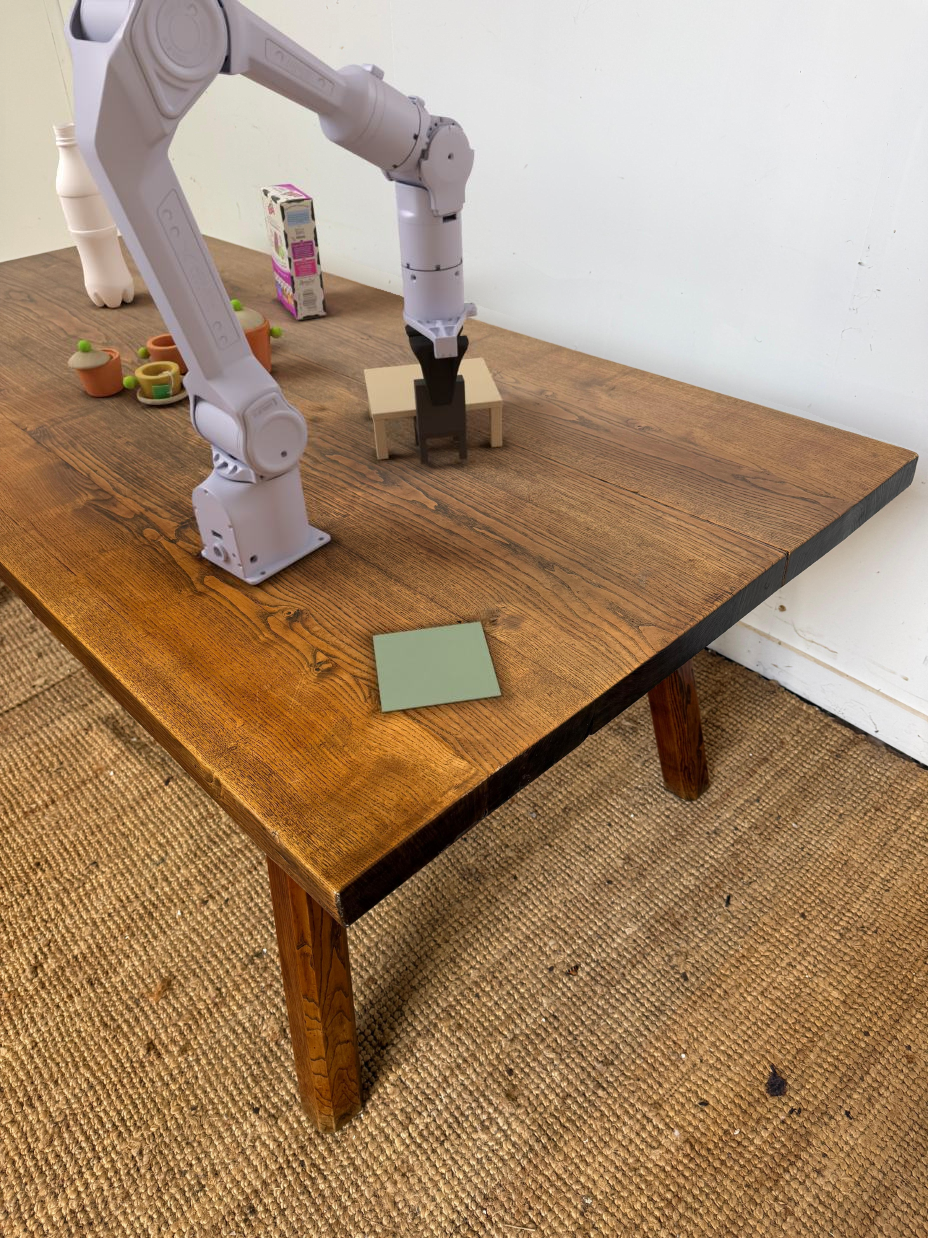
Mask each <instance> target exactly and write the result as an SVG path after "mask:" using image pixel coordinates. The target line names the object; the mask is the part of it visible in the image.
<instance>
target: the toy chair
mask: <svg viewBox="0 0 928 1238" xmlns="http://www.w3.org/2000/svg"><path fill="white" fill-rule="evenodd" d="M414 393H415V406H416V416H412V417H413V429H414V441H415V446H416V447H418V451H419V462H420V465H426V464H429V454H428V440H432V439H433V440H434V439H442V438H452V440H453V442H454V443H457V444H458V445H457V447H458V458H459V460H468V447H467V428H468V427H467V411H466V402H465V381H464V378H463V376H462V375H457V380H456V386H455V392H454V397H453V401H452V404H451V405H442V406H432V405H431V402H430V399H429V396H428V392H427V388H426V384H425V379H414Z"/></svg>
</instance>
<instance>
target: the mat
mask: <svg viewBox="0 0 928 1238" xmlns="http://www.w3.org/2000/svg"><path fill="white" fill-rule="evenodd" d="M372 641H373V649H374V657H375V666H376V673H377V682H378V689H379V696H380V698H379V699H380V705H381V713H383V714H384V713H389V712H396V711H397V712H398V711H403V710H410V709H411V710H412V709H418V708H425V707H431V706H439V705H446V704H454V703H461V702H469V701H475V700H481V699H482V700H483V699H489V698H496V697H497V698H498V697H502V693H501V689H500V685H499V682H498V678H497V675H496V671H495V668H494V664H493V660H492V657H491V655H490V650H489V646H488V643H487V640H486V635H485V633H484V629H483V625H482V622H481V621H474V622H467V623H458V624H451V625H443V626H436V627H429V628H421V629H414V630H406V631H398V632H389V633H384V634H376V635H372Z"/></svg>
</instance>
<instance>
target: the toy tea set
mask: <svg viewBox="0 0 928 1238" xmlns="http://www.w3.org/2000/svg"><path fill="white" fill-rule="evenodd" d="M230 302H231V304H232V307H233V309H234V311H235V313H236V316H237V318H238V320H239V323H240V325H241V327H242V330H243V332H244V334H245V337H246V339H247V341H248V344H249V346H250V348H251V351H252V353H253V355H254V356H255V358H256V359H257V360H258V361H259V363H260V364H261V365H262V366H263V367H264V368H265V369H266V371H267V372H268V373H269V374H270V373H271V371H272V349H271V337H272V338H274V339H276V340H277V339H280V338H281V337H282V336H283V330H282V328H281V327H279V326H272V327H271V324H270V321H269V319H268V318H267V317H266V316H265V315H262V314H260V313H259V312H258V311H256V310H254V309H252V308H249V307H246V306H243V304H242V302H241V300H239V299H231V300H230ZM145 345H146V347H141V348H139V349H138V352H137V354H138V357H139V358H140V359H141V360H148V359H149V358H150V357H151V359H152V362H149V363H145V364H143V365H141V366H139V367H138V368H136V370H135V371H134V375H135V377H134V376H132V375H127V376H125V377H124V375H123V367H122V360H121V353H120V352H119V350H117V349H115V348H109V347H103V348H102V347H101V348H92V345H91V342H89V341H88V340H86V339H82V340H80V341H78V343H77V349H78V351H76V352H75V353H73V354H72V355H71V357H70V358H69V359H68V360H67V366H68V367H69V368H70V369H72V370H75V372H76V374H77V376H78V378H79V379H80V382H81V383H82V386H83V388H84V389H85V391H86V393H87V394H88V395H89V396H91V397H95V398H96V397H97V398H103V397H110V396H113V395H116V394H118V393H120V392H121V391H122V390H123V388H126V389H128V390H133V389H135V388H136V386H137V385H139V389H138V390H137V391H136V397H137V400H138V401H139V402H141V403H143V404H146V405H151V406H161V405H168V404H173V403H177V402H179V401H181V400H183V399H185V398H187V397H189V395H188V393H187V390H186V388H185V386H184V384H183V379H184V377H185V376H186V375H183V374H187V373H188V371H189V370H188V368H187V366H186V364H185V362H184V360H183V358H182V356H181V354H180V352H179V350H178V348H177V346H176V344H175V342H174V340H173V338H172V336H171V334H170V333H164V334H158V335H156V336H153V337H151V338H150V339H148V340H147V342H146V343H145Z"/></svg>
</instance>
